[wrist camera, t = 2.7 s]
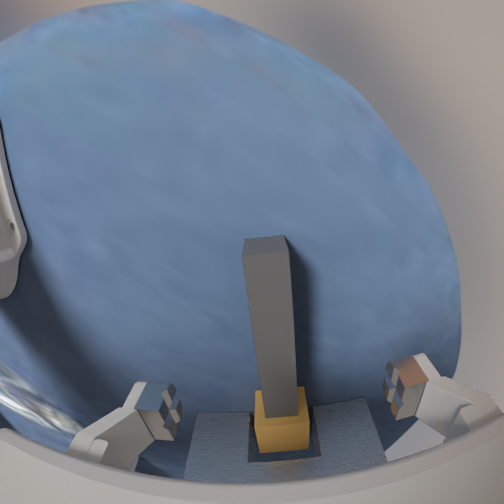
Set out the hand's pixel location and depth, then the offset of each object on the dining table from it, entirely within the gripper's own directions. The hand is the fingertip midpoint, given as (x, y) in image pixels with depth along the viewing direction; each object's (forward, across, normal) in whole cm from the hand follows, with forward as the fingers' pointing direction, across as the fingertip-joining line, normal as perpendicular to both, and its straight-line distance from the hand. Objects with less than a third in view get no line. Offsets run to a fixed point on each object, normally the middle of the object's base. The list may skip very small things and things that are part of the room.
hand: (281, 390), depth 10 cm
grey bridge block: (+14, +1, +20) cm, 25 cm away
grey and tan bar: (+14, +1, +8) cm, 16 cm away
